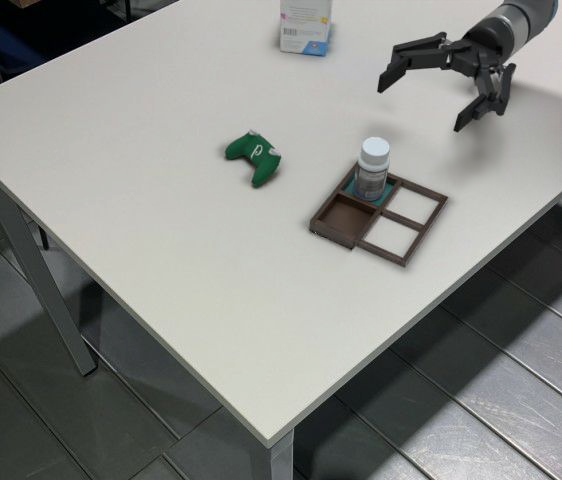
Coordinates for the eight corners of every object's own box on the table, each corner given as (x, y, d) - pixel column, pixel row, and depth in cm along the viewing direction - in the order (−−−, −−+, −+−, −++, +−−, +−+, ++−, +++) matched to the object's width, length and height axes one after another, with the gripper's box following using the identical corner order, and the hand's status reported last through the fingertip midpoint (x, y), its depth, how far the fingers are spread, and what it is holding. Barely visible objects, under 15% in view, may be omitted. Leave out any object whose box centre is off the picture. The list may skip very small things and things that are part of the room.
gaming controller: (267, 192, 98) (290, 160, 96) (253, 185, 95) (276, 152, 93) (235, 159, 102) (256, 128, 100) (220, 152, 99) (242, 119, 96)
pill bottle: (359, 176, 97) (367, 131, 90) (387, 186, 96) (397, 141, 89) (347, 195, 95) (354, 150, 87) (376, 206, 94) (385, 161, 86)
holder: (445, 206, 95) (448, 196, 93) (403, 272, 88) (405, 263, 86) (356, 170, 99) (357, 159, 97) (308, 230, 92) (309, 220, 90)
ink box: (331, 31, 118) (338, -45, 107) (325, 57, 114) (331, -20, 103) (286, 26, 119) (288, -51, 108) (279, 51, 115) (280, -26, 103)
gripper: (554, 95, 98) (484, 163, 89) (422, 35, 106) (347, 91, 98) (574, 49, 92) (501, 117, 83) (432, -11, 100) (352, 45, 91)
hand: (417, 103), depth 90 cm, fingers open, 13 cm apart
